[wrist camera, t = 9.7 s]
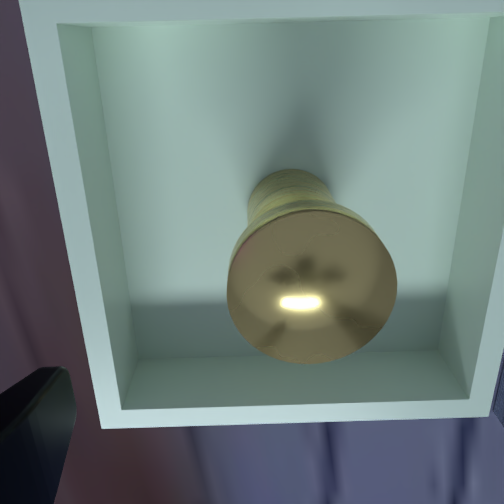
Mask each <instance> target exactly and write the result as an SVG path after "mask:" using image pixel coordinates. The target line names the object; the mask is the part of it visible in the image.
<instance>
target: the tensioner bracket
mask: <svg viewBox="0 0 504 504" xmlns="http://www.w3.org/2000/svg"><path fill="white" fill-rule="evenodd" d="M493 412H494V413H495V415H496V416H497V418H498V419H499V421H500V422H501V424H502V425H503V427H504V366H503V370H502V375H501V379H500V383H499V388H498V392H497V397H496V401H495V406H494V410H493Z"/></svg>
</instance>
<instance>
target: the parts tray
mask: <svg viewBox="0 0 504 504" xmlns="http://www.w3.org/2000/svg"><path fill="white" fill-rule="evenodd" d="M19 4H20V9H21V14H22V20H23V25H24V30H25V35H26V40H27V45H28V51H29V56H30V61H31V66H32V71H33V76H34V82H35V87H36V92H37V97H38V102H39V107H40V113H41V118H42V123H43V128H44V133H45V138H46V144H47V149H48V154H49V159H50V164H51V169H52V175H53V180H54V185H55V190H56V195H57V200H58V206H59V211H60V216H61V221H62V226H63V231H64V237H65V242H66V247H67V252H68V257H69V262H70V268H71V273H72V278H73V283H74V288H75V293H76V299H77V304H78V309H79V314H80V319H81V324H82V330H83V335H84V340H85V345H86V350H87V355H88V361H89V366H90V371H91V376H92V381H93V386H94V392H95V397H96V402H97V407H98V412H99V417H100V423H101V428H102V429H109V428H142V427H174V426H206V425H238V424H271V423H303V422H335V421H367V420H400V419H432V418H464V417H488V416H489V412H490V407H491V403H492V398H493V394H494V389H495V385H496V380H497V376H498V371H499V367H500V362H501V358H502V353H503V349H504V0H19ZM284 169H299V170H304V171H307V172H309V173H312V174H313V175H315V176H317V177H318V178H319V179H320V180H321V181H322V182H323V183H324V184H325V185H326V187H327V188H328V190H329V192H330V193H331V195H332V197H333V199H334V201H335V202H336V204H340V205H342V206H344V207H347V208H349V209H351V210H352V211H354V212H355V213H357V214H359V215H360V216H361V217H362V218H363V219H365V220H366V221H367V222H368V223H369V225H370V226H371V227H372V228H373V229H374V231H375V232H376V234H377V235H378V237H379V238H380V240H381V241H382V243H383V244H384V246H385V247H386V249H387V250H388V252H389V253H390V256H391V258H392V260H393V262H394V266H395V269H396V274H397V295H396V300H395V304H394V307H393V310H392V312H391V314H390V316H389V318H388V320H387V322H386V323H385V325H384V326H383V328H382V329H381V330H380V331H379V333H378V334H377V335H376V336H375V337H374V338H373V339H372V340H371V341H369V342H368V343H367V344H366V345H364V346H363V347H362V348H360V349H359V350H357V351H355V352H353V353H351V354H349V355H347V356H345V357H342V358H340V359H337V360H333V361H330V362H324V363H318V364H297V363H289V362H285V361H281V360H278V359H275V358H273V357H270V356H268V355H266V354H264V353H262V352H261V351H259V350H258V349H256V348H255V347H253V346H252V345H251V344H250V343H249V342H248V341H247V340H246V339H245V338H244V337H243V336H242V335H241V334H240V332H239V331H238V329H237V328H236V326H235V325H234V322H233V320H232V318H231V316H230V312H229V309H228V304H227V277H228V267H229V261H230V257H231V254H232V250H233V248H234V246H235V244H236V242H237V240H238V239H239V237H240V236H241V234H242V233H243V231H244V230H245V229H246V228H247V209H248V202H249V198H250V196H251V194H252V191H253V190H254V188H255V187H256V186H257V184H258V183H259V182H260V181H261V180H262V179H264V178H265V177H267V176H268V175H270V174H272V173H274V172H276V171H279V170H284Z"/></svg>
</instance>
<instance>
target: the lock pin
mask: <svg viewBox="0 0 504 504" xmlns="http://www.w3.org/2000/svg"><path fill="white" fill-rule="evenodd" d="M396 295H397V274H396V269H395V266H394V262H393V260H392V258H391V256H390V253H389V252H388V250H387V249H386V247H385V246H384V244H383V243H382V241H381V240H380V238H379V237H378V235H377V234H376V232H375V231H374V229H373V228H372V227H371V226H370V225H369V223H368V222H367V221H366V220H365V219H363V218H362V217H361V216H360V215H359V214H357V213H355V212H354V211H352V210H351V209H349V208H347V207H344V206H342V205H340V204H336V202H335V201H334V199H333V197H332V195H331V193H330V192H329V190H328V188H327V187H326V185H325V184H324V183H323V182H322V181H321V180H320V179H319V178H318V177H317V176H315V175H313V174H312V173H309V172H307V171H304V170H299V169H284V170H279V171H276V172H274V173H272V174H270V175H268V176H267V177H265V178H264V179H262V180H261V181H260V182H259V183H258V184H257V186H256V187H255V188H254V190H253V191H252V194H251V196H250V198H249V202H248V209H247V228H246V229H245V230H244V231H243V233H242V234H241V236H240V237H239V239H238V240H237V242H236V244H235V246H234V248H233V250H232V254H231V257H230V261H229V267H228V277H227V304H228V309H229V312H230V316H231V318H232V320H233V322H234V325H235V326H236V328H237V329H238V331H239V332H240V334H241V335H242V336H243V337H244V338H245V339H246V340H247V341H248V342H249V343H250V344H251V345H252V346H253V347H255V348H256V349H258V350H259V351H261V352H262V353H264V354H266V355H268V356H270V357H273V358H275V359H278V360H281V361H285V362H289V363H297V364H318V363H324V362H330V361H333V360H337V359H340V358H342V357H345V356H347V355H349V354H351V353H353V352H355V351H357V350H359V349H360V348H362V347H363V346H364V345H366V344H367V343H368V342H369V341H371V340H372V339H373V338H374V337H375V336H376V335H377V334H378V333H379V331H380V330H381V329H382V328H383V326H384V325H385V323H386V322H387V320H388V318H389V316H390V314H391V312H392V310H393V307H394V304H395V300H396Z"/></svg>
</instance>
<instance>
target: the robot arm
mask: <svg viewBox="0 0 504 504" xmlns="http://www.w3.org/2000/svg"><path fill="white" fill-rule="evenodd" d="M75 419H76V402H75V397H74V393H73V388H72V384H71V379H70V375H69V372H68V370H67V369H66V368H65V367H63V366H58V367H41V368H39V369H37V370H36V371H34V372H33V373H31V374H30V375H28V376H27V377H25V378H24V379H22V380H21V381H19V382H18V383H16V384H15V385H13V386H12V387H10V388H9V389H7V390H6V391H4V392H3V393H1V394H0V504H54V500H55V497H56V493H57V489H58V486H59V482H60V478H61V474H62V470H63V466H64V462H65V458H66V454H67V451H68V447H69V443H70V439H71V435H72V431H73V427H74V423H75Z"/></svg>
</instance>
